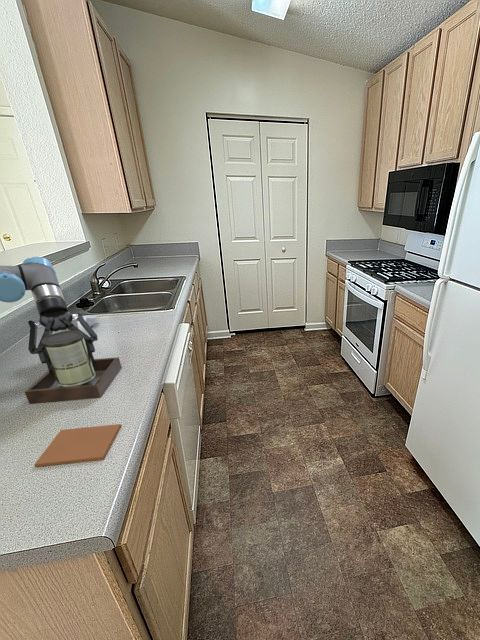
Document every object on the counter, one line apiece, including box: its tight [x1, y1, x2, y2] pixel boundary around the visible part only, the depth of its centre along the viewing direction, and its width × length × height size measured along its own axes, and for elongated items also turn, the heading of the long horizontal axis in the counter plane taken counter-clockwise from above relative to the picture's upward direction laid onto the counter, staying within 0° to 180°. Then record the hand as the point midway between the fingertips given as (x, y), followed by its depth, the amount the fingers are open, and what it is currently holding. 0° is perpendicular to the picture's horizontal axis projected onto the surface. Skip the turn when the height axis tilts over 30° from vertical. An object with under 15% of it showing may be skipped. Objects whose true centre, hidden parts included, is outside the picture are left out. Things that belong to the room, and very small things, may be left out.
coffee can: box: [41, 330, 97, 387], centre depth 100 cm, size 10×10×14 cm
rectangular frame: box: [24, 356, 123, 405], centre depth 103 cm, size 19×19×4 cm
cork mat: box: [33, 423, 122, 468], centre depth 78 cm, size 14×12×1 cm
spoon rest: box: [71, 314, 98, 337], centre depth 144 cm, size 24×12×7 cm, turn 34°
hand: (72, 366), depth 98 cm, fingers closed on coffee can, 10 cm apart
